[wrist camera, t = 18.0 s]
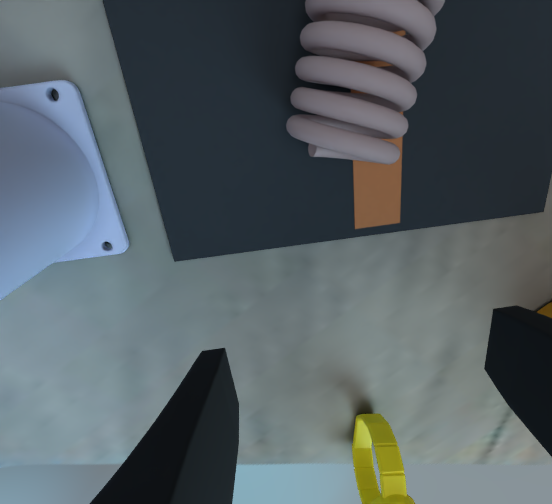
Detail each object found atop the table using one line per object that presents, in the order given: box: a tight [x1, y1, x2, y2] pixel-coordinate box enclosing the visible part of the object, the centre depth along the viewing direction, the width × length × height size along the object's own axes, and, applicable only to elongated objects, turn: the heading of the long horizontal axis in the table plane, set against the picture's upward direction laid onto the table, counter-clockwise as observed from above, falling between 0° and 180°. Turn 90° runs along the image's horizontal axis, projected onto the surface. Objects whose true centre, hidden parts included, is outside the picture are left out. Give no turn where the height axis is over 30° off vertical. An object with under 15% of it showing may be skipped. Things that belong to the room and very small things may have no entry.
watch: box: [352, 414, 415, 504], centre depth 21 cm, size 6×3×6 cm, turn 179°
